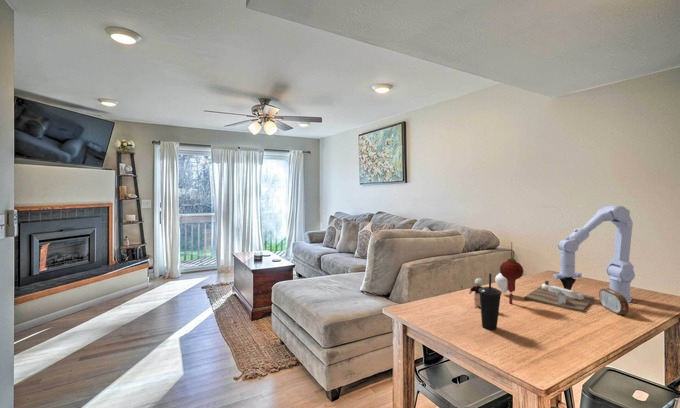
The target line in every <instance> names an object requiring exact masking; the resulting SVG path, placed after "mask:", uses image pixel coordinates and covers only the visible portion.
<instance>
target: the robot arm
mask: <svg viewBox="0 0 680 408" xmlns="http://www.w3.org/2000/svg"><path fill="white" fill-rule="evenodd" d="M630 214H631V211H630V210H629V209H627V208H626V206H623V205H603V206H601V208H600V209H598V210H596V213H595V214H594V215H593V216H592V217H591V218H590V219H589V220H588V221H587V222H586V223H585V224H584V225H583V227H578V228H575V229H574V228H573V231H572V232H571V233H570V234H569V235H568V236H566V237H565V239H561V240H560V241H559V242H558V244H557V248H558V249H559V251H560V253H559V257H560V262H559V263H560V264H559V265H560V266H559V268H560V271H559V272H558V273H555V274H554V273H553V274H552V279H554V280H559V281H560V282H561V284H562V286H563V287H562V288H564V289H568V290H572V288H573V285H574V284H575V282H576V281H577V280H576V278H582V273H581V272H576V252H578V250H579V247H580V245H581V244H582V243H583V242H585V240H587V239H588V238H589V237H590V233H591V232H592V231H593V230H594V229H596V228H597V227H599V225H601V224H602V223H605V222H612V224H614V225H615V226H616V228H615V236H614V237H615V238H614V249H613V258H611V260H609V262H608V265H607V266H606V269H605V272H606V274H607V275H608V276H609V277H608V278H609V289H612V290H614V291H616V292H618V293H620V294H622V295H623V296H624V297H625V298H626V300H627V302H628V303H631V302H632V299H633V296H631V283H632V281H633V280H634V279H635V278H636V274H635V270H634V265H633V264H632V262H631V261H630V256H631V255H630V253H631V243H632V232H633V220H632V218H631V216H630Z"/></svg>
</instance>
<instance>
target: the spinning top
mask: <svg viewBox="0 0 680 408" xmlns="http://www.w3.org/2000/svg"><path fill="white" fill-rule="evenodd" d="M494 279H495V283H496V285H497V287H498V289H499V290H500V291H501V292H502V293H503V295H505V293H506V292H508V290H507V279H506V278H505V277H503V276H502V274H501V273H500V272H499V273H498V274H497V275H496V276H495V278H494Z"/></svg>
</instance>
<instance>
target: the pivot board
mask: <svg viewBox="0 0 680 408" xmlns="http://www.w3.org/2000/svg"><path fill="white" fill-rule="evenodd" d="M544 284H546V285H549V284H550V283H549V280H544ZM594 299H595V296H594V295H593V296H592V295H588V294H584V299H582V300H578V299H575V298H571V297H567V296H566V305H563V304H559V303H557V295H556V294H555V293H553V292H550V291H545V290H542V286H539V287H537V288H536V289H534V290H533V291H532V292H529V293H528V294H527V295H525V296H524V298H523V300H526V301H530V302H535V303H540V304H544V305H547V306H553V307H557V308H562V309H567V310H570V311H573V312H574V311H576V312H579V313H584V312H585V311H586V309H587V308H588V307H589V306H590V305H591V303H592V302H593V301H594Z"/></svg>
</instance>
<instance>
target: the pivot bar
mask: <svg viewBox="0 0 680 408" xmlns="http://www.w3.org/2000/svg"><path fill="white" fill-rule="evenodd" d="M541 287H542V290H545V291H550V292H553V291H552V290H551V288H554V289H558V290H560V291H561V292H562V293H563V294H565V295H566V296H567V297H571V298H575V299H578V300H582V299H584V295H585V293H582V292H579V291H576V290H572V289H571V290H568V289H564V287H561V286H556V285H553V284H550V283H549V285H546V284H545V283H541ZM553 293H554V292H553Z"/></svg>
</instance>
